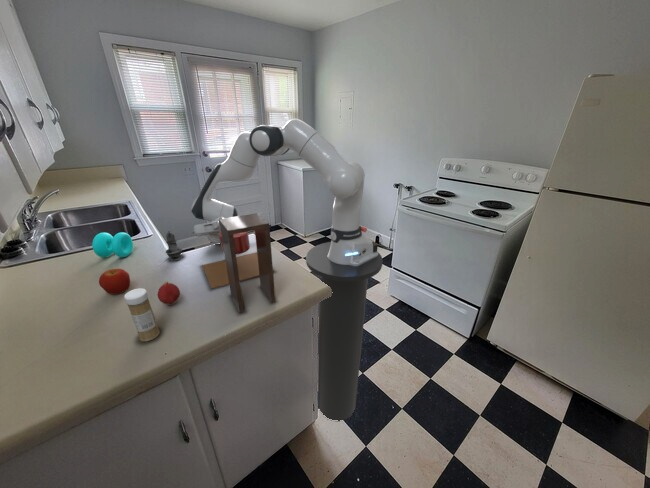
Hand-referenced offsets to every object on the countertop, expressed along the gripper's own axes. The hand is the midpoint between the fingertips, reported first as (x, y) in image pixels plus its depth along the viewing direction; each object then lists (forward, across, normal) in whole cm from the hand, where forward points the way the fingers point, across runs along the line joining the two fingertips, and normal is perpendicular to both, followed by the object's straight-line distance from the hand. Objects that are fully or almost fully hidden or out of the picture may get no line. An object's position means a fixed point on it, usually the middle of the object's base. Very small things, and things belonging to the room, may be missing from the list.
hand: (224, 222), depth 98 cm
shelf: (+14, 0, +28) cm, 31 cm away
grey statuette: (-22, -18, +7) cm, 30 cm away
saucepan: (+2, 0, +8) cm, 8 cm away
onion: (+6, -22, +23) cm, 32 cm away
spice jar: (+16, -28, +29) cm, 43 cm away
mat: (-4, +1, +18) cm, 18 cm away
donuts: (-34, -38, 0) cm, 51 cm away
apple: (-8, -36, +15) cm, 40 cm away
